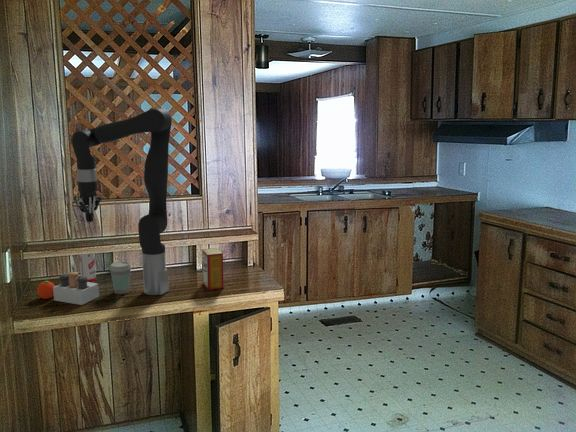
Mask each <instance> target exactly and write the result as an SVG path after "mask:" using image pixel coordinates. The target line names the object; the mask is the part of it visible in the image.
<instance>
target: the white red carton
mask: <svg viewBox="0 0 576 432" xmlns="http://www.w3.org/2000/svg"><path fill="white" fill-rule="evenodd" d="M78 256H79V268H80V270H79V271H80V277H87V278H88V280H87V282H91V283H96V281H97V271H96V256H95V252H94V253H90V254H80V255H78Z"/></svg>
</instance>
